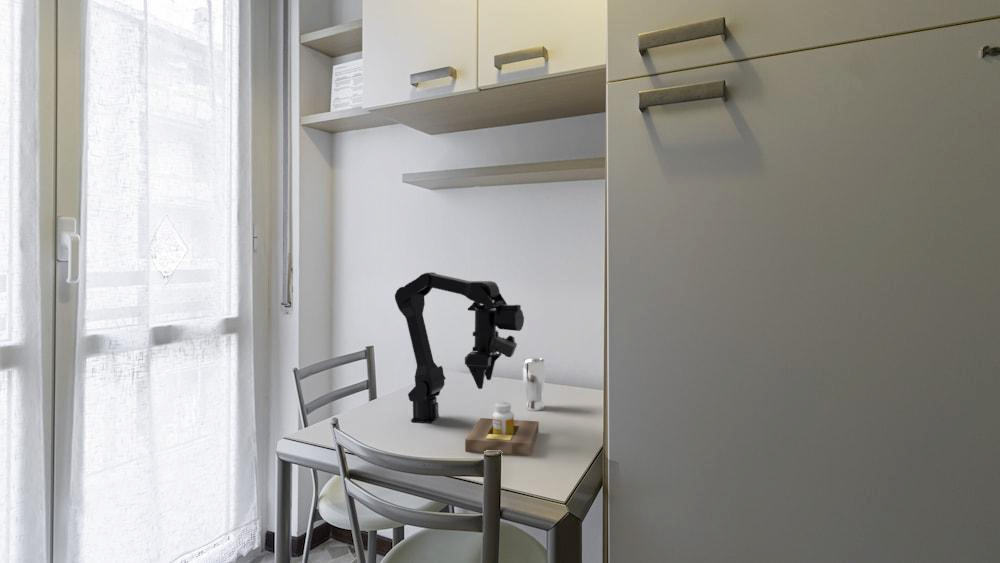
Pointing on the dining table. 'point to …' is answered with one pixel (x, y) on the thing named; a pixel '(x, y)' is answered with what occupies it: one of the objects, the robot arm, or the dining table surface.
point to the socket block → (503, 438)
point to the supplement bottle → (503, 419)
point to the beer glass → (534, 383)
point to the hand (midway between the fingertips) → (484, 384)
